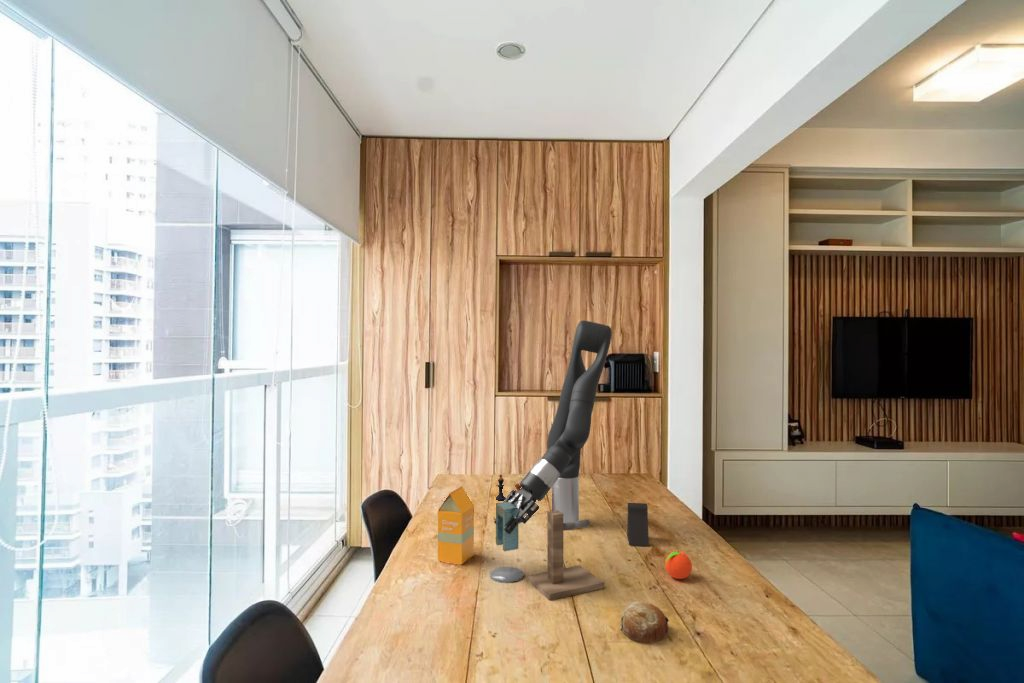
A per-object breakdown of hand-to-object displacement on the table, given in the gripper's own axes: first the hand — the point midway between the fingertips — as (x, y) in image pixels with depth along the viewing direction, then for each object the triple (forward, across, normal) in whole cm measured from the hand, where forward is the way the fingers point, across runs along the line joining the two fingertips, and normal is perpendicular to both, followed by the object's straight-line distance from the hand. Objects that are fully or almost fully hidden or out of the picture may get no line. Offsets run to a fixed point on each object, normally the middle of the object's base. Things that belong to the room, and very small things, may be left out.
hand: (501, 528), depth 145 cm
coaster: (+8, 0, +10) cm, 13 cm away
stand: (0, +11, +19) cm, 22 cm away
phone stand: (-26, -7, +45) cm, 52 cm away
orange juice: (+14, -18, +4) cm, 23 cm away
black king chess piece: (-13, -66, +32) cm, 74 cm away
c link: (+2, 0, +5) cm, 5 cm away
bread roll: (-2, +38, +22) cm, 44 cm away
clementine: (-20, +20, +39) cm, 49 cm away
